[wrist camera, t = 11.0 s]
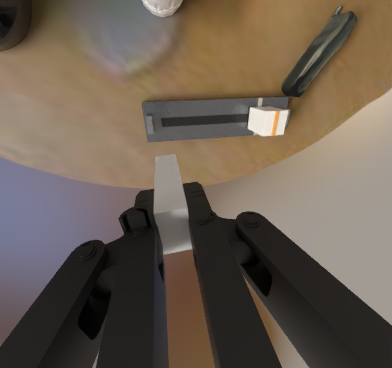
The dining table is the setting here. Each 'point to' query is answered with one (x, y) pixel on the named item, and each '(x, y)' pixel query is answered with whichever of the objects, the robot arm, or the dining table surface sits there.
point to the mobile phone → (319, 53)
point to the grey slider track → (203, 117)
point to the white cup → (162, 6)
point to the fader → (267, 120)
